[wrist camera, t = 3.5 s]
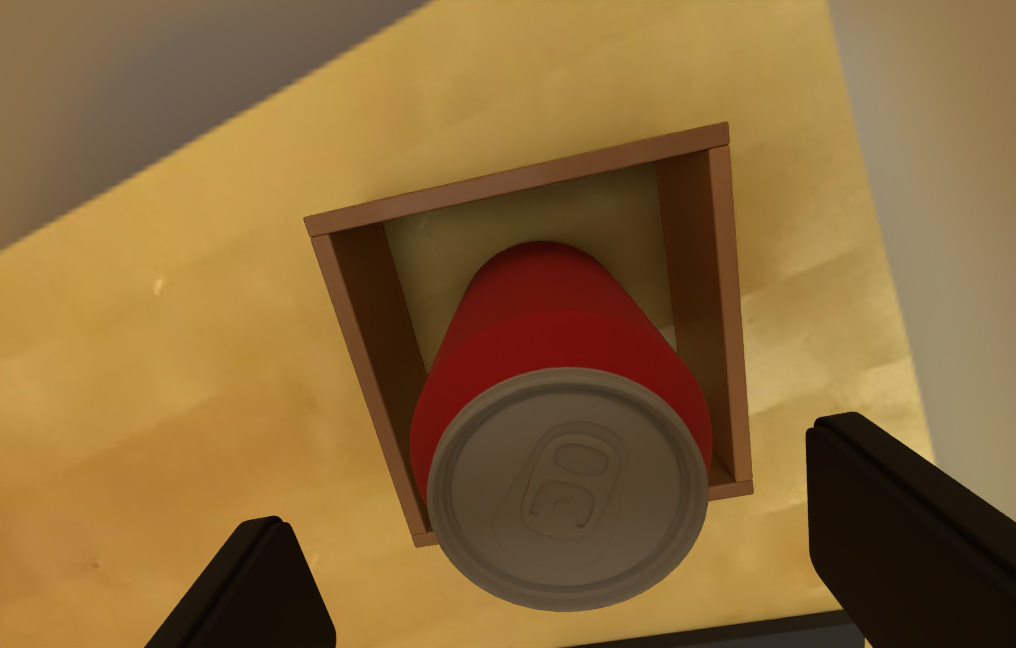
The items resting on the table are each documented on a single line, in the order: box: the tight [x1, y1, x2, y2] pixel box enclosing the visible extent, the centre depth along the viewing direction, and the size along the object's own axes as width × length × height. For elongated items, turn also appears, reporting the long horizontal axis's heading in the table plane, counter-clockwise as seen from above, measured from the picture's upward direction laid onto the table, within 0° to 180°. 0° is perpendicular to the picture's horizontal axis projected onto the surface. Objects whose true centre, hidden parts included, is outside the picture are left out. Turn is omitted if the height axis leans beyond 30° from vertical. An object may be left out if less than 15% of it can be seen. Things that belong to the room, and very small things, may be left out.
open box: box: [303, 121, 754, 548], centre depth 18 cm, size 12×12×6 cm
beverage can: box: [410, 241, 713, 612], centre depth 15 cm, size 7×7×12 cm
